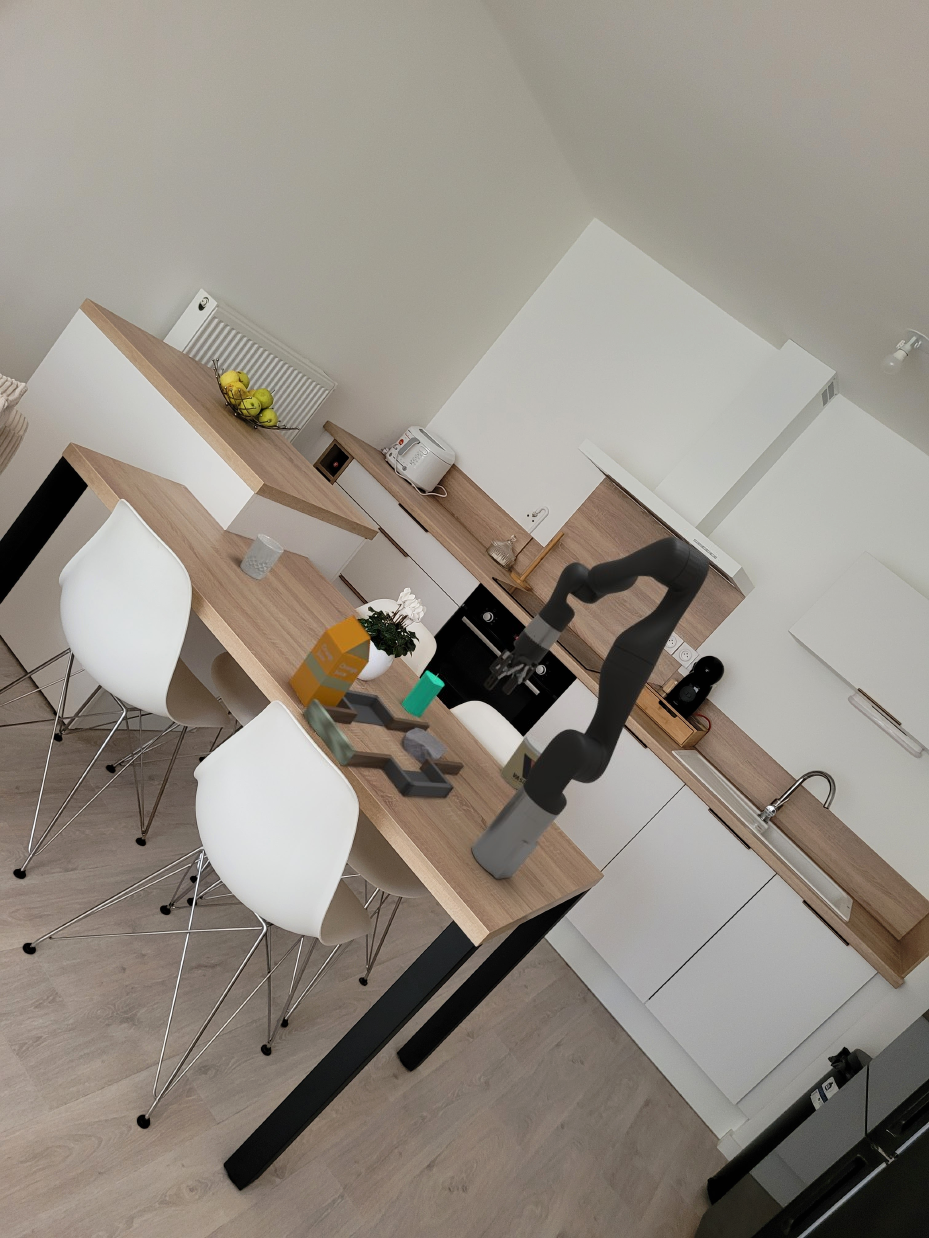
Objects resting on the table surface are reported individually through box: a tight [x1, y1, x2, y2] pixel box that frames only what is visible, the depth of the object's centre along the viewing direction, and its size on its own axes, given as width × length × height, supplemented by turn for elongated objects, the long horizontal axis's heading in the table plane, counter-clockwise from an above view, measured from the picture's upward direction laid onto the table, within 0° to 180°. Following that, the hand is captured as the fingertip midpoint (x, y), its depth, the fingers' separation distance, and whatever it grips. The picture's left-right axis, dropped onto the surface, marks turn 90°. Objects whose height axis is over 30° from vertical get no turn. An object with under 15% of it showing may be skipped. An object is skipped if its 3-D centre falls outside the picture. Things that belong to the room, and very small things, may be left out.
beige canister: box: [500, 734, 547, 791], centre depth 214 cm, size 9×9×12 cm
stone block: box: [401, 728, 448, 765], centre depth 192 cm, size 12×5×10 cm
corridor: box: [302, 699, 465, 776], centre depth 181 cm, size 15×41×4 cm, turn 137°
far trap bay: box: [336, 689, 396, 727], centre depth 188 cm, size 8×15×3 cm, turn 137°
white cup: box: [239, 533, 284, 581], centre depth 221 cm, size 8×8×10 cm
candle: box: [401, 670, 445, 718], centre depth 210 cm, size 6×6×12 cm
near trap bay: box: [381, 757, 455, 799], centre depth 175 cm, size 8×15×3 cm, turn 137°
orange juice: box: [288, 614, 372, 708], centre depth 176 cm, size 8×9×20 cm
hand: (495, 690), depth 195 cm, fingers open, 8 cm apart
